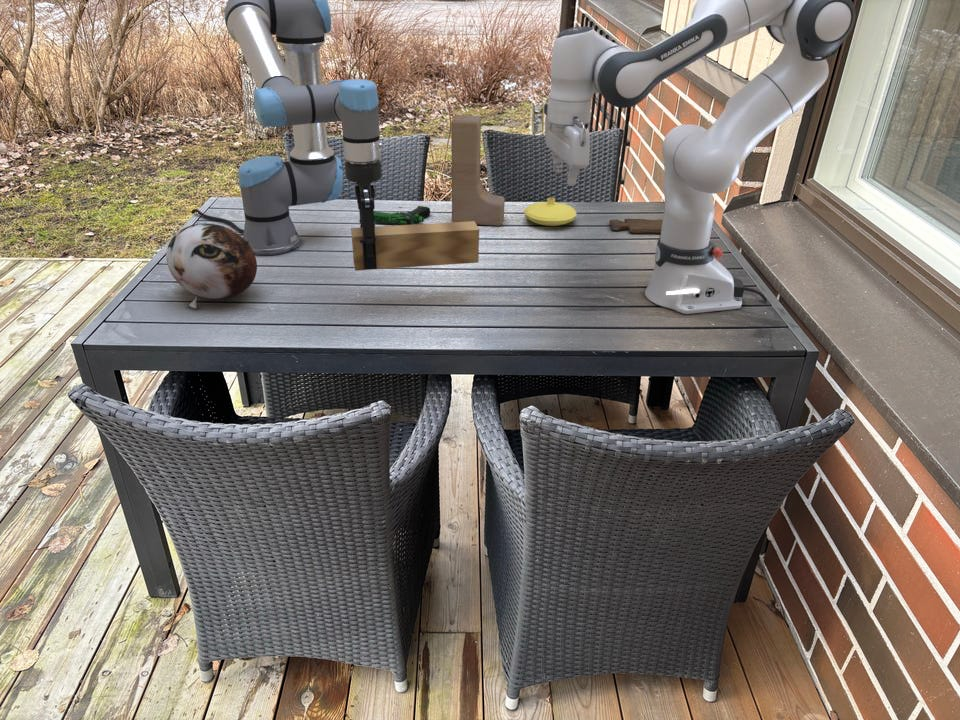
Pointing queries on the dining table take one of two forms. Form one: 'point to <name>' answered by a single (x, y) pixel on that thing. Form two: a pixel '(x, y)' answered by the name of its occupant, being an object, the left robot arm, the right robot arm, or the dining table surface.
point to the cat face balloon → (211, 261)
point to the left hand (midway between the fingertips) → (369, 262)
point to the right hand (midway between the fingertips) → (564, 178)
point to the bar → (420, 245)
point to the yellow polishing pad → (550, 213)
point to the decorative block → (471, 176)
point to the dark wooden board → (637, 225)
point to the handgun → (403, 216)
